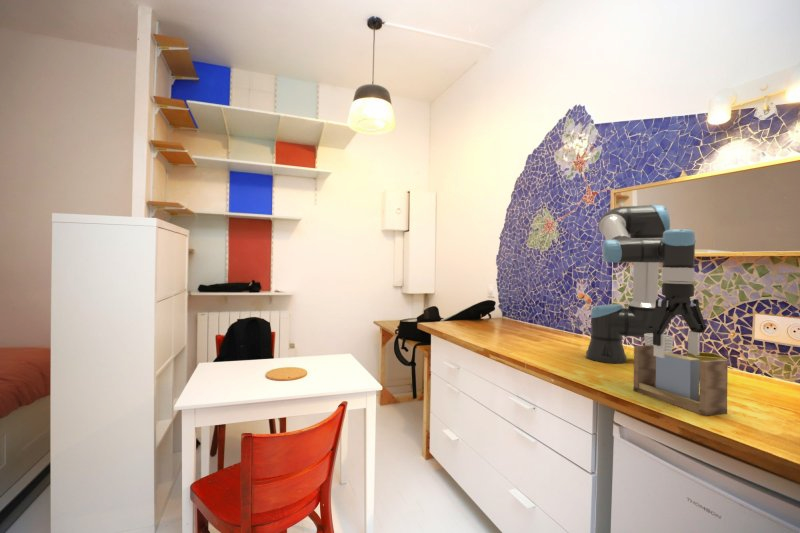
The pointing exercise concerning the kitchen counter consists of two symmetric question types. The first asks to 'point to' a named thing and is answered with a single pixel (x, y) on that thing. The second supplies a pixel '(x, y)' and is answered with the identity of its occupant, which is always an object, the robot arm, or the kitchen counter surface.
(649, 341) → the cup
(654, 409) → the kitchen counter surface
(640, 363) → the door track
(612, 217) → the robot arm
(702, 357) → the flower pot
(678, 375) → the door panel
